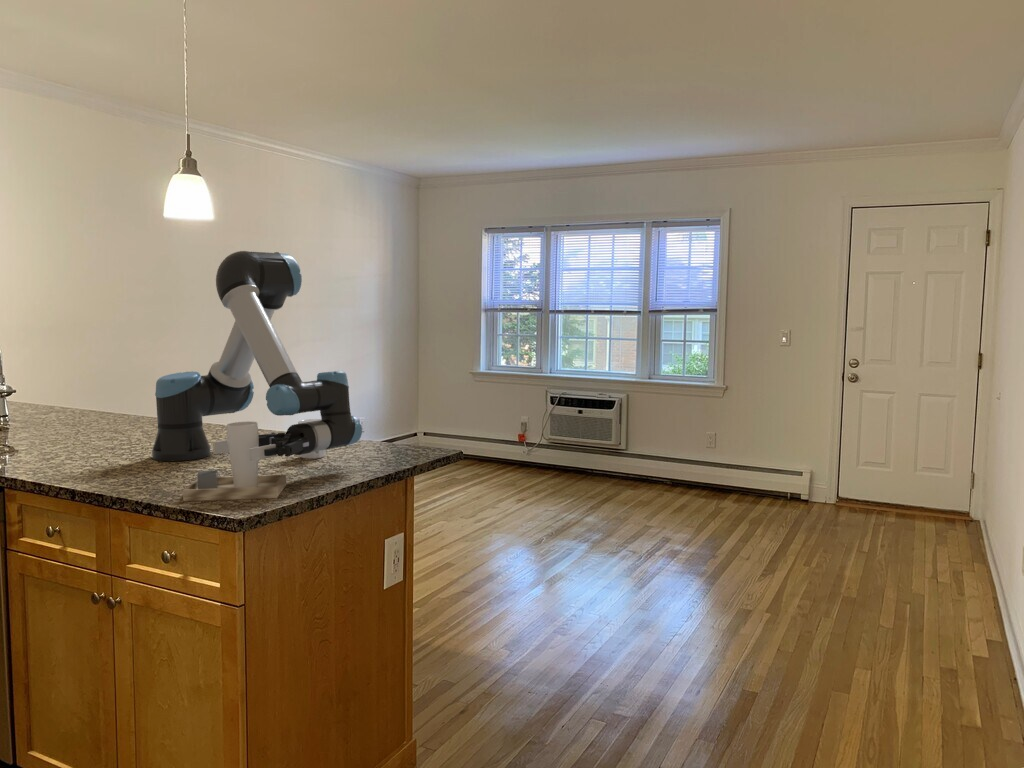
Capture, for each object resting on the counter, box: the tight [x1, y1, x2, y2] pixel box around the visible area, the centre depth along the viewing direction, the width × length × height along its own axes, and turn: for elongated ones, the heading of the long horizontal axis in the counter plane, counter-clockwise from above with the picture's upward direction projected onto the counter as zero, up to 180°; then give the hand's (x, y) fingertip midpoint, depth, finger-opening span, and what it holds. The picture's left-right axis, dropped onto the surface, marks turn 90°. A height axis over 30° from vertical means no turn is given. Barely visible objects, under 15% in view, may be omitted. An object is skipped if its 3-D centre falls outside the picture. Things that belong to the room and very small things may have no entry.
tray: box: [182, 474, 288, 502], centre depth 182 cm, size 20×13×2 cm, turn 97°
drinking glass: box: [226, 420, 260, 488], centre depth 182 cm, size 7×7×15 cm
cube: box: [196, 469, 219, 489], centre depth 181 cm, size 4×4×4 cm
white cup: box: [297, 418, 327, 460], centre depth 223 cm, size 8×8×10 cm
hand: (231, 451), depth 179 cm, fingers open, 13 cm apart
